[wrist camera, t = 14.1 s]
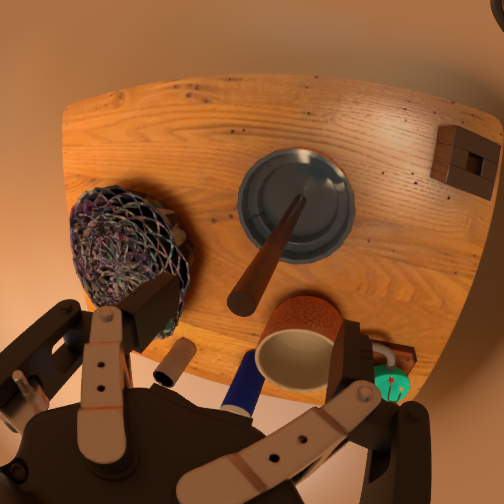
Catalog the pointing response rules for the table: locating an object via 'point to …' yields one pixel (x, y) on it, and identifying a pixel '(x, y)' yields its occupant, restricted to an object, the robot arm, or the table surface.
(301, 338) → the planter
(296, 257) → the bowl
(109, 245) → the decorative bowl
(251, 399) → the beverage can
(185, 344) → the cardboard tube
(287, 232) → the stirring stick
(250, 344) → the table surface
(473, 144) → the holder
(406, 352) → the contraption on wooden base
